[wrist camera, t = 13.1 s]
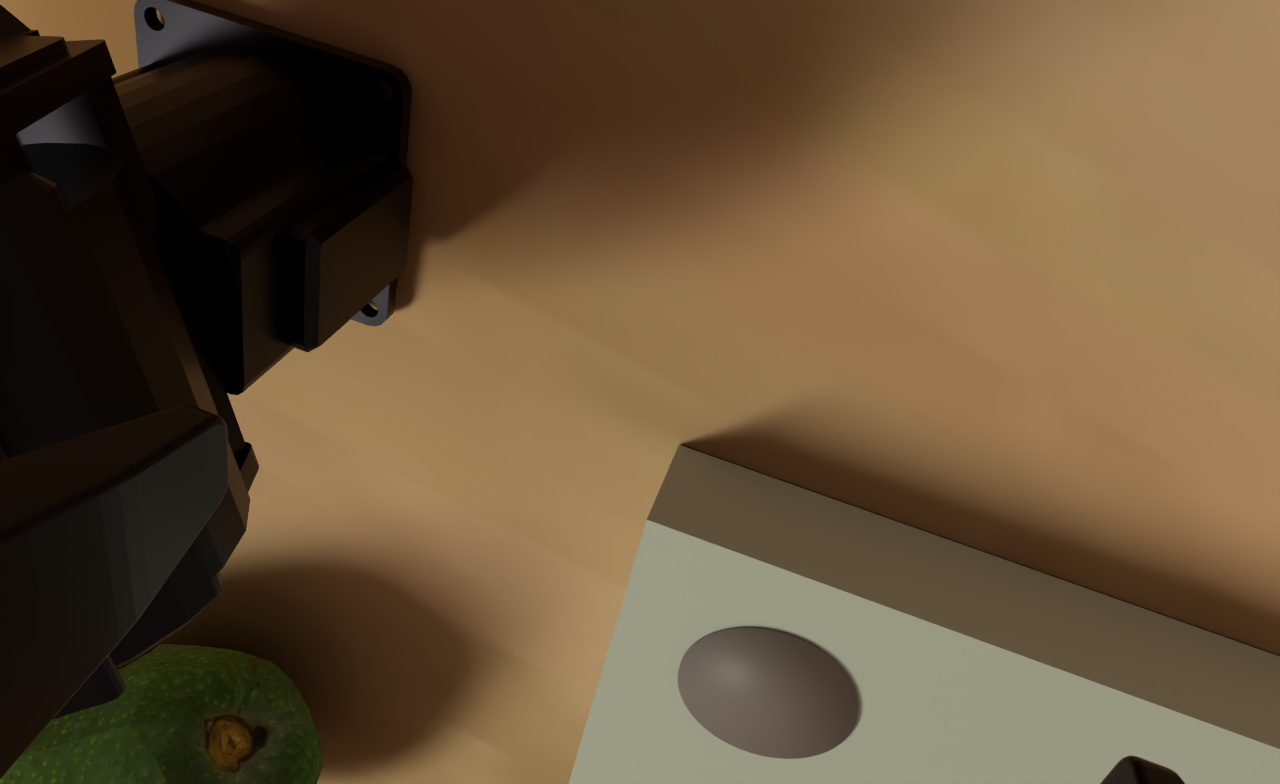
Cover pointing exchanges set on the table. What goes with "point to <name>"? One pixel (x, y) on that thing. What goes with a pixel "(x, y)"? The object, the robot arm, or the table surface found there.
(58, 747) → the fruit
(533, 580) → the table surface
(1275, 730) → the seat board
